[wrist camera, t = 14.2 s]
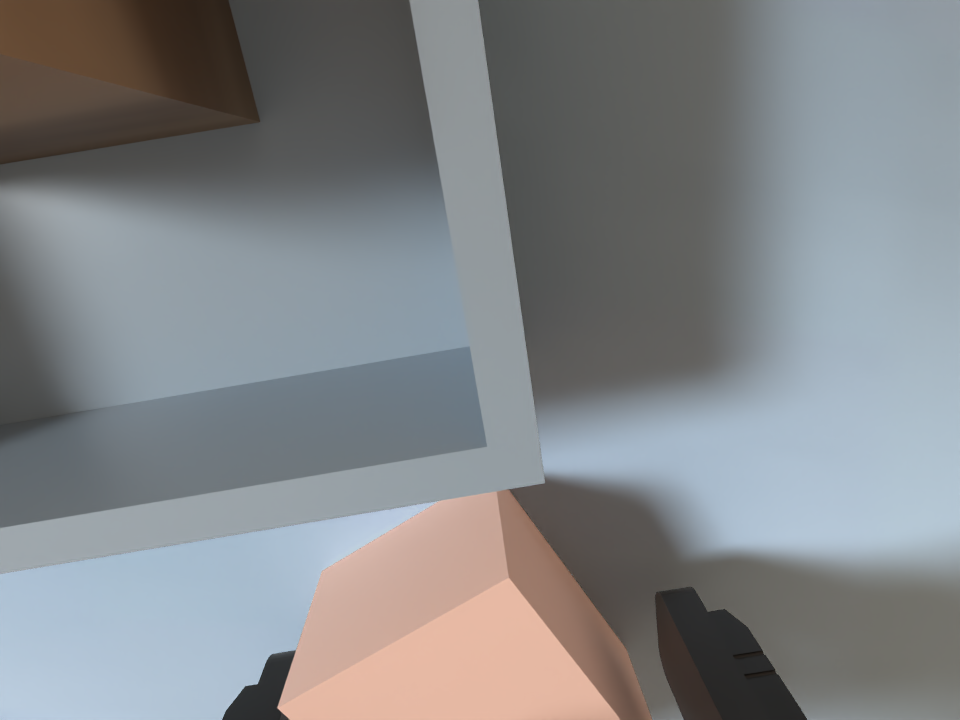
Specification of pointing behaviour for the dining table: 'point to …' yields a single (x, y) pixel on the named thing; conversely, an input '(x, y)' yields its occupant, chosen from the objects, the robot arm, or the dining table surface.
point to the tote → (269, 300)
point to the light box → (458, 628)
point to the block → (116, 73)
